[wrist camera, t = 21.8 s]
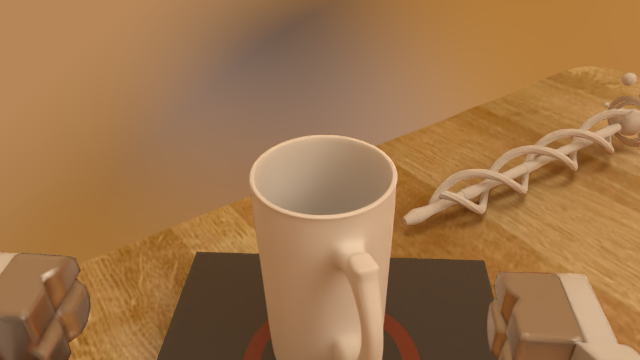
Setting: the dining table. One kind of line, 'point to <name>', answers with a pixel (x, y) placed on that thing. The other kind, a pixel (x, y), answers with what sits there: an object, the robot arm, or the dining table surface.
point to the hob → (399, 322)
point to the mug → (324, 245)
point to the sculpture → (624, 123)
